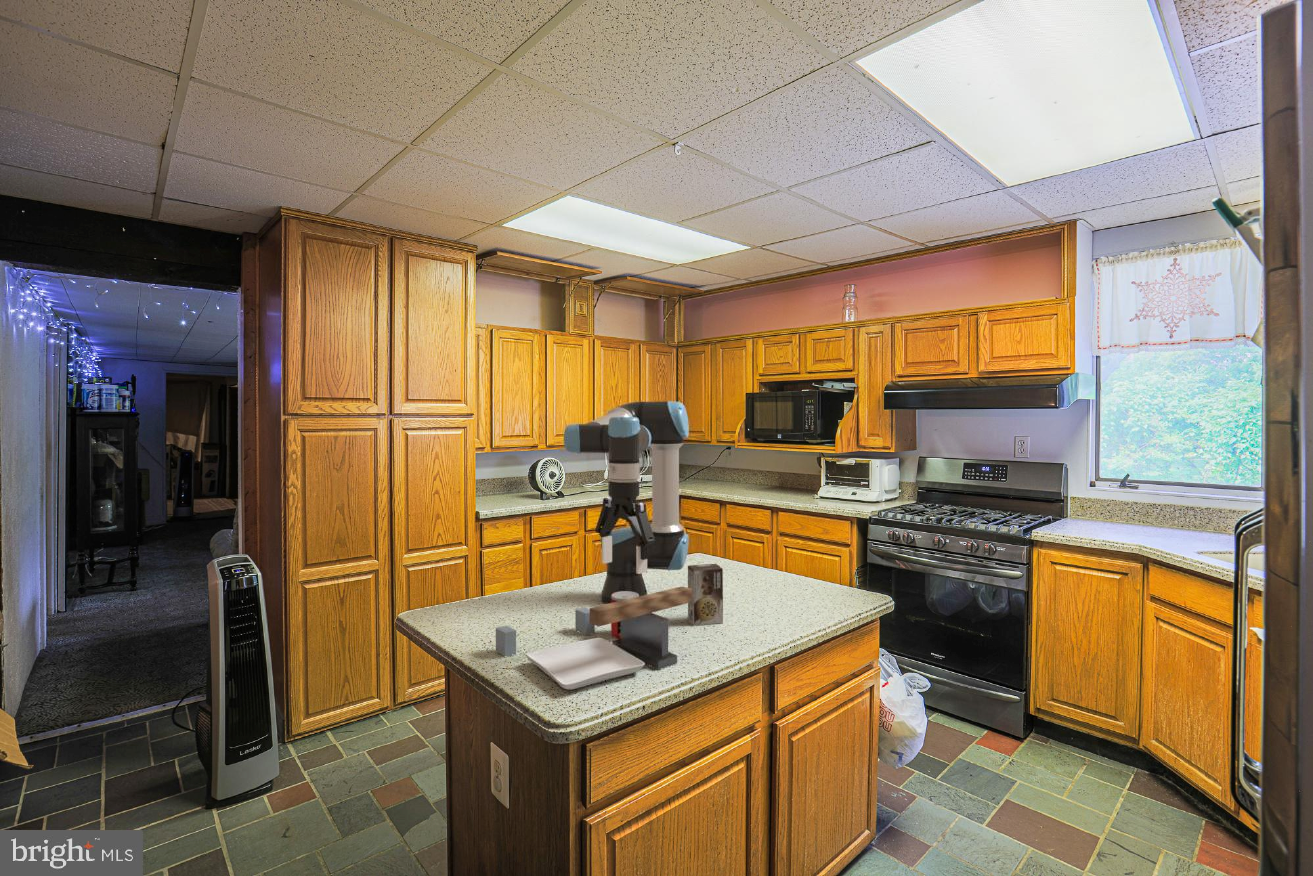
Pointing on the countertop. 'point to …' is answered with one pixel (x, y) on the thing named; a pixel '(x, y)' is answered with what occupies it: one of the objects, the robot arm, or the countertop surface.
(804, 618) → the countertop surface
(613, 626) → the canned food
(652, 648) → the ridge
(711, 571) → the coffee box
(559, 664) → the salad plate
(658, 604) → the walnut bar
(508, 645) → the support blocks
